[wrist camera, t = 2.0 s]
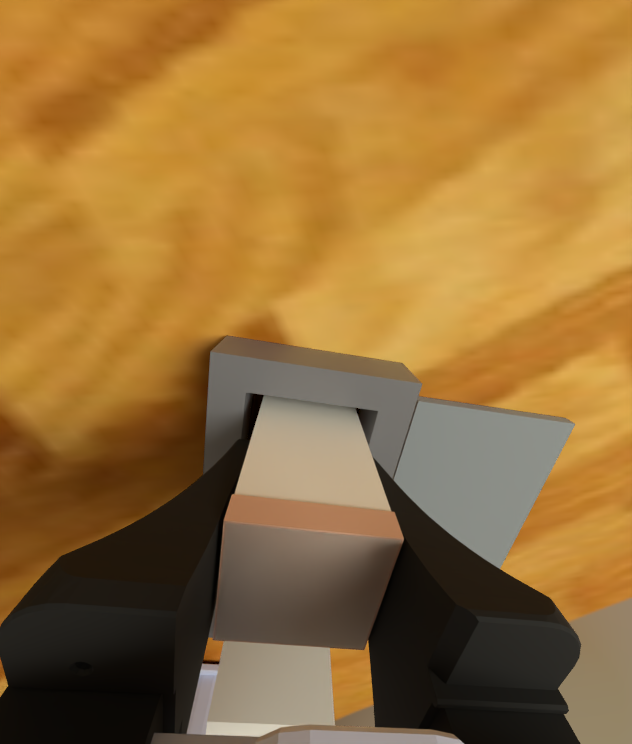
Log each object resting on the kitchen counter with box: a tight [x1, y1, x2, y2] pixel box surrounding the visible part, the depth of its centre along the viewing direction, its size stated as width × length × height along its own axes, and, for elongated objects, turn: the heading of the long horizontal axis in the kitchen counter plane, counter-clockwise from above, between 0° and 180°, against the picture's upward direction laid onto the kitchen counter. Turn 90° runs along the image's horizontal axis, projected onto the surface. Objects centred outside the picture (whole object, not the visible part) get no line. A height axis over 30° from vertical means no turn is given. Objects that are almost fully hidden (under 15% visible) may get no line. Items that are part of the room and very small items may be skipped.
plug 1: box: [213, 395, 404, 650], centre depth 11 cm, size 4×4×8 cm
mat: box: [393, 396, 575, 569], centre depth 17 cm, size 13×8×1 cm, turn 170°
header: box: [203, 336, 422, 638], centre depth 15 cm, size 16×8×2 cm, turn 170°
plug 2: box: [206, 641, 335, 737], centre depth 14 cm, size 4×4×8 cm
